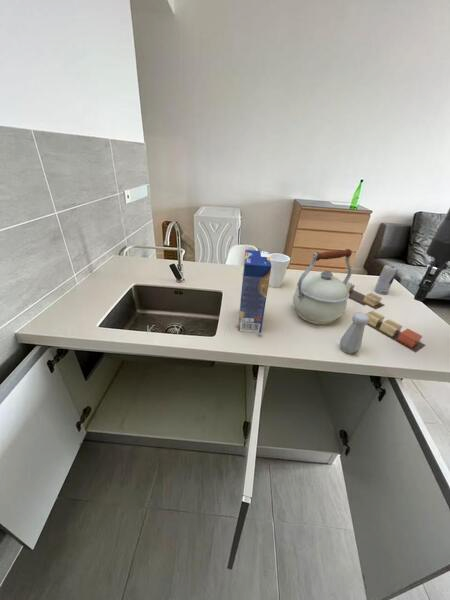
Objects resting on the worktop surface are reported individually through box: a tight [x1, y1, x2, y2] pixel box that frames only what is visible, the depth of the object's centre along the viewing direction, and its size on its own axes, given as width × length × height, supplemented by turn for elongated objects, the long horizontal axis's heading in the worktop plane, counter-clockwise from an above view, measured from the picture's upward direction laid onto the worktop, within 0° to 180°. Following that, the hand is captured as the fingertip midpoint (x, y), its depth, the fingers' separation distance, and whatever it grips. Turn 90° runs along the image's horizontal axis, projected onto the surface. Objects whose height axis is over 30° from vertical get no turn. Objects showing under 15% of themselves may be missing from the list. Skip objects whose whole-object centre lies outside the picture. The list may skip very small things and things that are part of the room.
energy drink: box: [374, 264, 399, 295], centre depth 107 cm, size 5×5×12 cm
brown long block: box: [345, 281, 386, 311], centre depth 103 cm, size 7×20×4 cm, turn 32°
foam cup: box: [268, 252, 291, 288], centre depth 108 cm, size 10×9×13 cm
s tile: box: [397, 328, 423, 348], centre depth 78 cm, size 4×4×3 cm
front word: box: [365, 310, 427, 353], centre depth 83 cm, size 7×20×4 cm, turn 32°
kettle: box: [292, 248, 354, 325], centre depth 86 cm, size 25×18×25 cm
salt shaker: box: [339, 311, 369, 355], centre depth 72 cm, size 6×6×13 cm
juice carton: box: [237, 249, 271, 334], centre depth 79 cm, size 12×8×24 cm, turn 175°
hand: (422, 295), depth 69 cm, fingers open, 8 cm apart
